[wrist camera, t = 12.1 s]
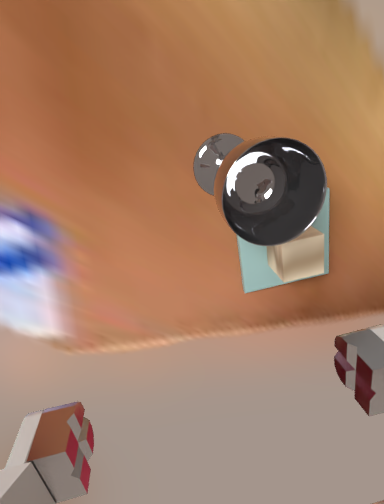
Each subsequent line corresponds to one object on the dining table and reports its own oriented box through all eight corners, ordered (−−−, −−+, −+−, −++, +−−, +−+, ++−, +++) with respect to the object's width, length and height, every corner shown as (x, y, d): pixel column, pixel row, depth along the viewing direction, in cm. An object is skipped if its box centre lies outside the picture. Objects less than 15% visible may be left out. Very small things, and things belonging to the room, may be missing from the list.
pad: (233, 206, 39) (235, 208, 38) (325, 186, 40) (329, 188, 39) (243, 290, 44) (245, 293, 43) (325, 270, 45) (328, 273, 44)
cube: (264, 229, 40) (281, 243, 35) (302, 220, 40) (324, 234, 35) (267, 264, 42) (283, 282, 37) (303, 256, 42) (324, 273, 38)
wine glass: (265, 183, 38) (336, 220, 25) (205, 210, 38) (242, 262, 25) (244, 117, 35) (314, 117, 21) (178, 147, 35) (205, 166, 21)
